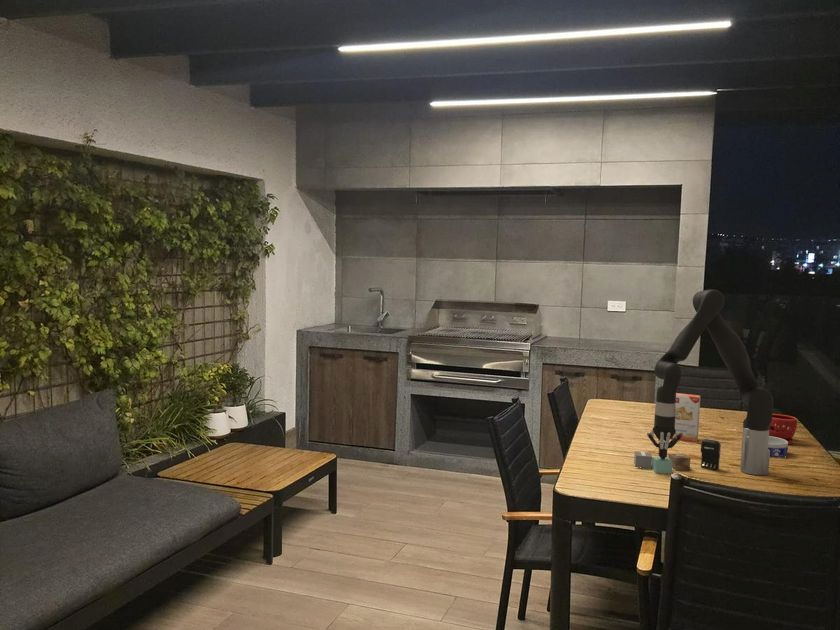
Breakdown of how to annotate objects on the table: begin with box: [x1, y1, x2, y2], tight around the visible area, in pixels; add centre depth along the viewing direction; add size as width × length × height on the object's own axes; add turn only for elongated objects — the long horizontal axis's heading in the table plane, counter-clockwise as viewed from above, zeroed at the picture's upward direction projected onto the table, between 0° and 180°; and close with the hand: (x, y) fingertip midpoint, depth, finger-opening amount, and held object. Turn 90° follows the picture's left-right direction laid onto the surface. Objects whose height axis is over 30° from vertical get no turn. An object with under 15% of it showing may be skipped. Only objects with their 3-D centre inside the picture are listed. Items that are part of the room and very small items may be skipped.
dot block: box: [668, 453, 691, 471], centre depth 277 cm, size 6×6×5 cm
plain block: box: [651, 456, 673, 475], centre depth 272 cm, size 6×6×5 cm
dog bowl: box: [768, 436, 789, 458], centre depth 304 cm, size 15×15×6 cm
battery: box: [700, 438, 722, 471], centre depth 277 cm, size 7×4×11 cm, turn 49°
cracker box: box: [670, 392, 702, 443], centre depth 323 cm, size 14×6×21 cm, turn 62°
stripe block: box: [633, 451, 653, 469], centre depth 278 cm, size 6×6×5 cm
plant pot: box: [769, 413, 798, 445], centre depth 323 cm, size 13×13×12 cm
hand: (662, 458), depth 271 cm, fingers closed
